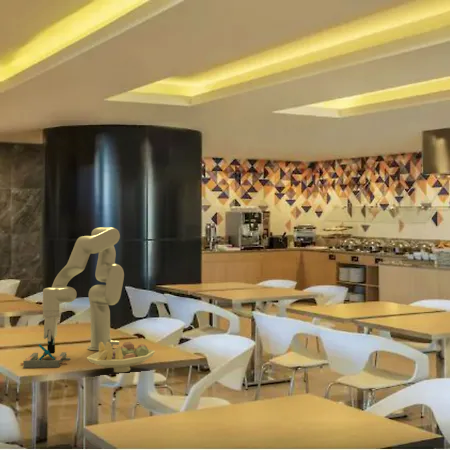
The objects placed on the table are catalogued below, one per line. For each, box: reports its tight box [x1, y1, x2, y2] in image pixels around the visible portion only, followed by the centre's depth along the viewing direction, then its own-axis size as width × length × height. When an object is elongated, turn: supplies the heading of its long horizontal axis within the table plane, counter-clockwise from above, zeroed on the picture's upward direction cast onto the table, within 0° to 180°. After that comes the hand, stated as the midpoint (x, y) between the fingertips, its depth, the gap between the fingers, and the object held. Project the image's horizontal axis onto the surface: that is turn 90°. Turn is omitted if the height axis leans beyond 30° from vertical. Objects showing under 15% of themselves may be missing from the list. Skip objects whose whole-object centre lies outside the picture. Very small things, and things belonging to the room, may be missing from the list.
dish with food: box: [86, 341, 156, 373], centre depth 315 cm, size 28×28×14 cm
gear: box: [37, 343, 56, 360], centre depth 341 cm, size 11×6×10 cm
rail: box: [20, 351, 71, 369], centre depth 336 cm, size 20×24×3 cm
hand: (51, 353), depth 352 cm, fingers closed
